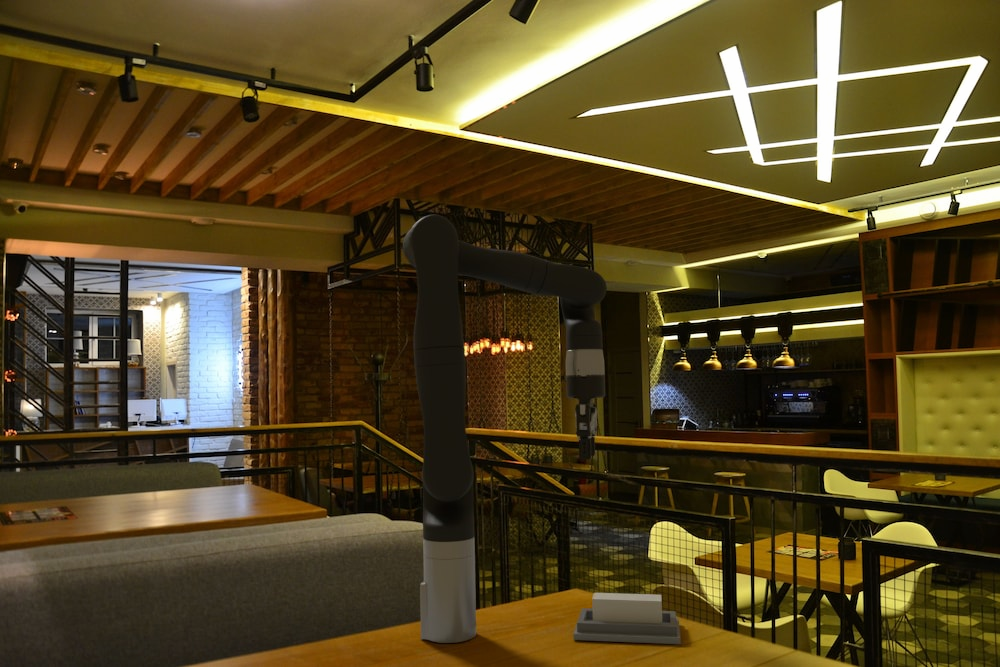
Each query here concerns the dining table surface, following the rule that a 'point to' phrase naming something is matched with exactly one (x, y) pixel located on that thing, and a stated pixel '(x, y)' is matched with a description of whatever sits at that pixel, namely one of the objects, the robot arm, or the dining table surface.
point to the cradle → (628, 629)
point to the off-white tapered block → (627, 608)
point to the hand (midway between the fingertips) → (587, 457)
